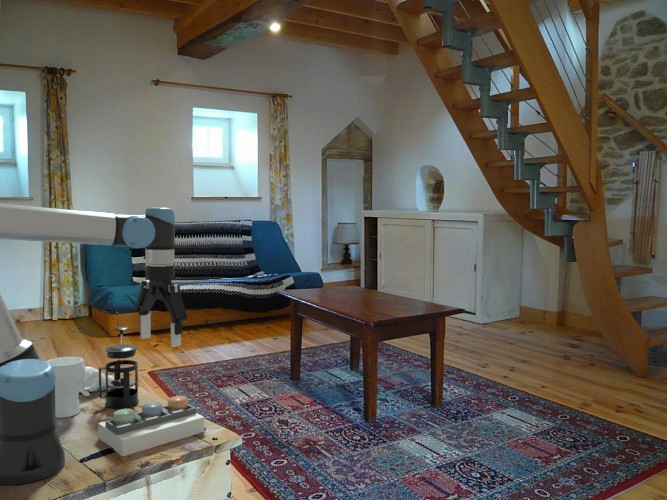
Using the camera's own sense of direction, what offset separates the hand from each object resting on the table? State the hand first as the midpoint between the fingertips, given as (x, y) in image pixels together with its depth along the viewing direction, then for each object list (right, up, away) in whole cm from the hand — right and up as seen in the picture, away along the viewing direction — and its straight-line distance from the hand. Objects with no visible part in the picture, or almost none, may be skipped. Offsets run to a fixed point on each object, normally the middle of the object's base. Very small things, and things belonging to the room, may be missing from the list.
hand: (160, 342), depth 154 cm
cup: (-29, -21, +5) cm, 36 cm away
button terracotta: (+6, -17, -4) cm, 18 cm away
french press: (-16, -21, +13) cm, 30 cm away
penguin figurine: (-28, -20, +23) cm, 41 cm away
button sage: (-5, -17, -14) cm, 23 cm away
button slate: (+1, -17, -9) cm, 19 cm away
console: (+1, -23, -8) cm, 24 cm away
